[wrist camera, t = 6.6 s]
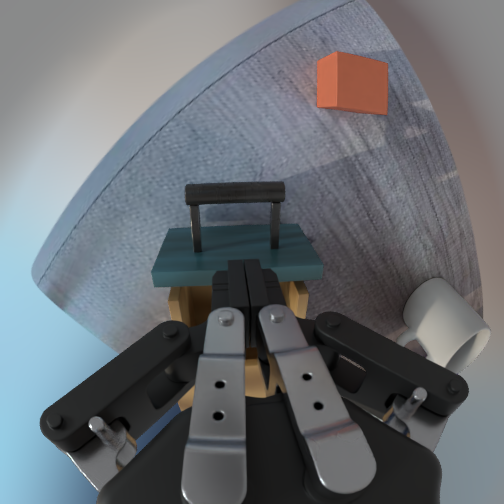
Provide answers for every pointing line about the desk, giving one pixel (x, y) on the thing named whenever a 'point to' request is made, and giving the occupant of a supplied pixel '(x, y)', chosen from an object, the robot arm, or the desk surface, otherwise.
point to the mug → (444, 325)
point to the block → (352, 84)
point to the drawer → (233, 252)
